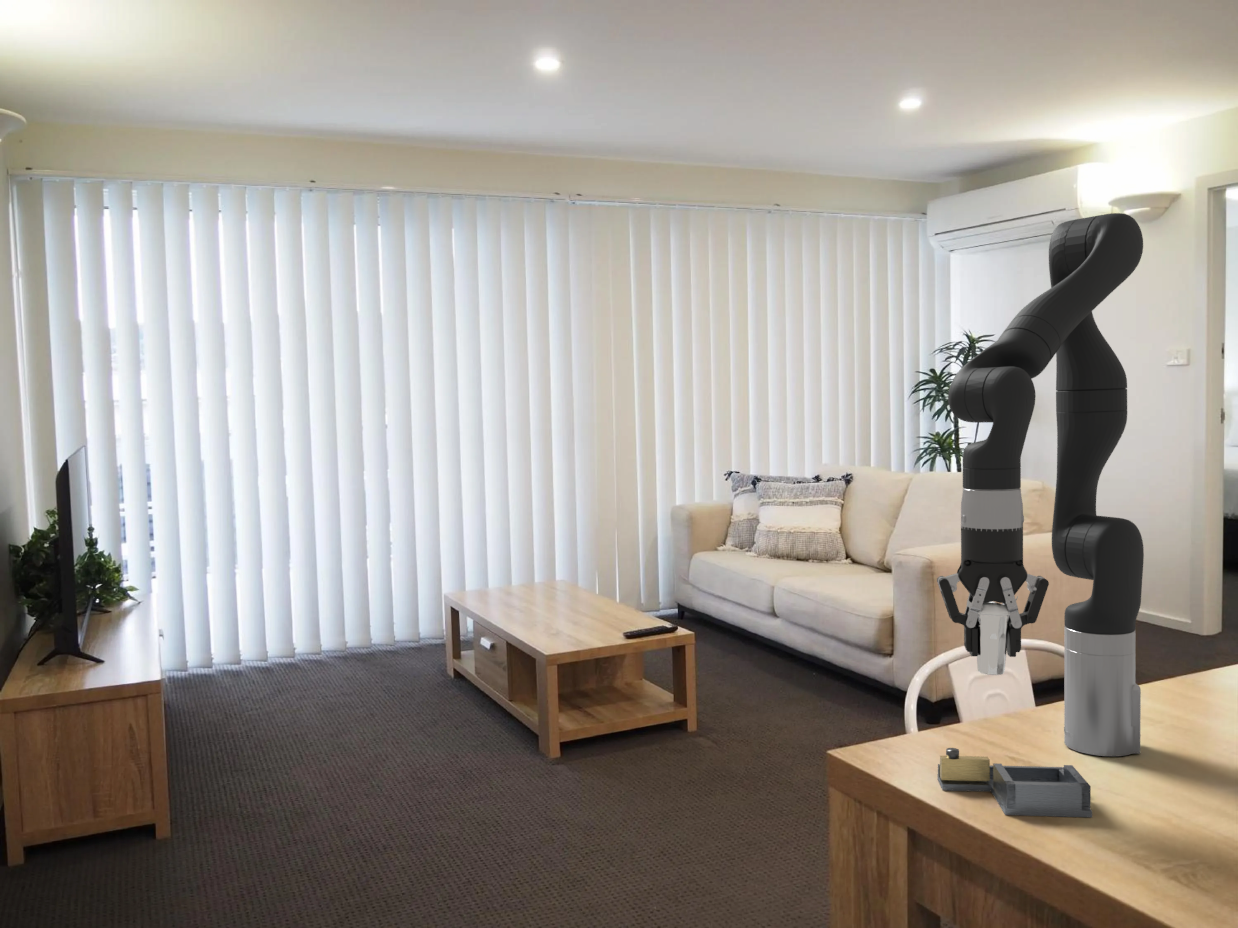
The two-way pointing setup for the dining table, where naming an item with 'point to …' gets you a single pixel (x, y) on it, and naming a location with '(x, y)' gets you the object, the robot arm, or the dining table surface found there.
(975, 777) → the bar
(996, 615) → the milkshake
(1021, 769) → the dock
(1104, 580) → the robot arm
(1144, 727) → the dining table surface
